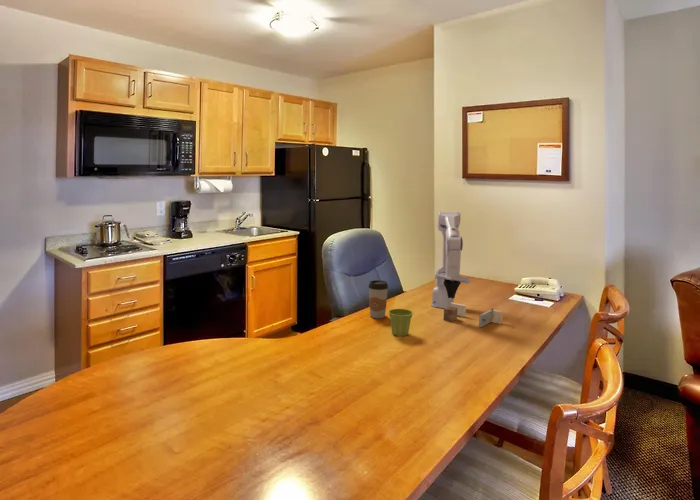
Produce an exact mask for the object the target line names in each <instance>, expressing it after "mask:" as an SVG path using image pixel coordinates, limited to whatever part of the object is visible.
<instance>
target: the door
mask: <svg viewBox="0 0 700 500" xmlns="http://www.w3.org/2000/svg"><path fill="white" fill-rule="evenodd" d="M493 313H494V308H490V309H489V310H487V311H485V312H483V313H481V314H479V315H478V327H479V328H483V327H485V326H486V325H488V324H490V323H491V322H492V323H493Z"/></svg>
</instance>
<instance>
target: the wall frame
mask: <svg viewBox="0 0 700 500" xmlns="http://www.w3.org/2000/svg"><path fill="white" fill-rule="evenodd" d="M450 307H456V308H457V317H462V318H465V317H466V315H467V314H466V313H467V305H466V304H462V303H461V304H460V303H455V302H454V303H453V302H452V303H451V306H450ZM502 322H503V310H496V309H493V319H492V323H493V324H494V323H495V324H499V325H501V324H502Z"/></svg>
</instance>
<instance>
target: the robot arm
mask: <svg viewBox="0 0 700 500" xmlns="http://www.w3.org/2000/svg"><path fill="white" fill-rule="evenodd" d="M460 224H461V212H459V211H439V212H438V214H437V230H438V231H439V232H441V235H442V260H441V261H442V263H441V264H442V266H440V267H439V268H437V270H436V273H435V275H434V279H435V286H434V288H433V289H432V297H431V298H432V299H431V307H434V308H440V309H445V308H446V307H448V306H451V303H452V302H453V303H455V298H456V293H457V291H458V289H459V287H460V285H461V283H462V284H463V283H464V284H470V283H471V278H470V277H465V276H461V275H460V274H461V259H462V258H461V256H462V251H463V247H464V242H463V241H464V240H463V237H462V236H461V235H460V231H459V228H460Z"/></svg>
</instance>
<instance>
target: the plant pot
mask: <svg viewBox="0 0 700 500" xmlns="http://www.w3.org/2000/svg"><path fill="white" fill-rule="evenodd" d="M387 313H388V314H389V318H390V324H391V325H390V326H391V327H390V328H391V334H392V335H394V336H396V337H406V336H408V335H409V332H410V326H411V320H412V318H413V315H414V312H413V311H412V310H411V309H407V308H393V309H389V310H388V311H387Z"/></svg>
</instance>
